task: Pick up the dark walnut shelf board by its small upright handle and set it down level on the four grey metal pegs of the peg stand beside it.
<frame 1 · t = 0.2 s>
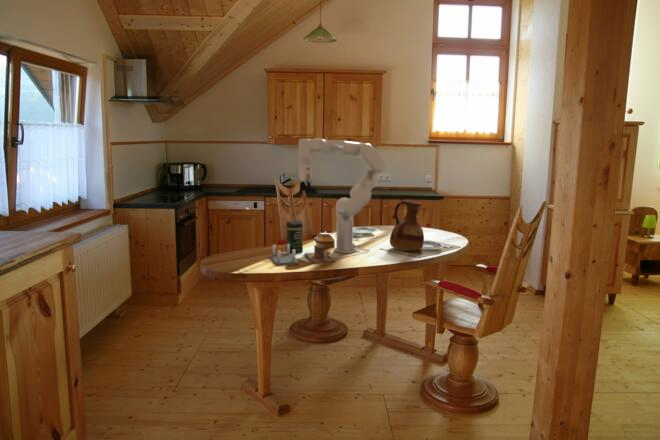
hand: (305, 191, 294), 36 cm above the table, tool pointing down, fingers open, 9 cm apart
ceramic pitcher: (406, 250, 312), on the table
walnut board: (319, 259, 290), on the table
peg stand: (283, 260, 284), on the table
coffee jar: (294, 252, 304), on the table
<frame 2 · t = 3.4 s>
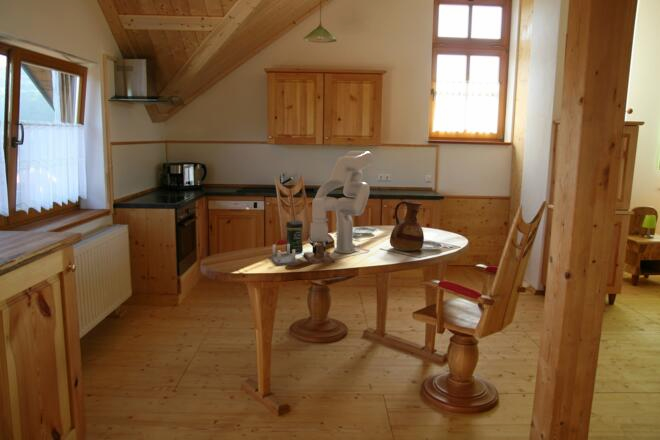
hand: (318, 253, 289), 3 cm above the table, tool pointing down, fingers closed on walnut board, 4 cm apart
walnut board: (318, 258, 289), on the table, touching gripper
everything else where it was.
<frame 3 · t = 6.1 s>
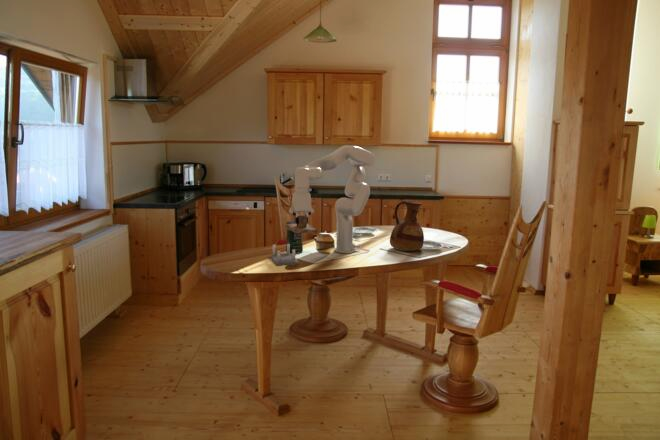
hand: (301, 223, 283), 20 cm above the table, tool pointing down, fingers closed on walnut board, 4 cm apart
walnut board: (301, 229, 283), point 17 cm above the table, touching gripper
everything else where it was.
when the fingers open (11 cm above the table, at t = 8.6 s): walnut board stays where it is, resting on peg stand.
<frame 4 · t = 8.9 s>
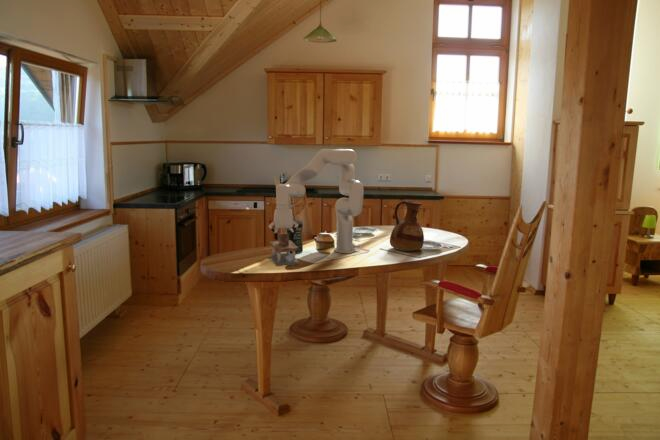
hand: (283, 239, 282), 12 cm above the table, tool pointing down, fingers open, 7 cm apart
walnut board: (283, 247, 283), point 7 cm above the table, touching peg stand
everything else where it was.
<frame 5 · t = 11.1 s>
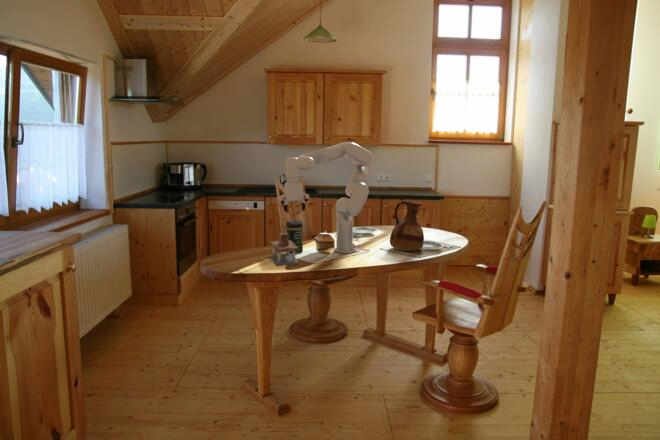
hand: (294, 211, 288), 26 cm above the table, tool pointing down, fingers open, 9 cm apart
nothing on the table moved.
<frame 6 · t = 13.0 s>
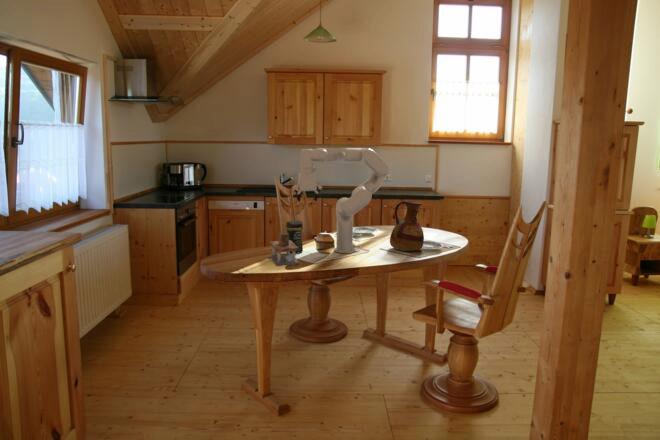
hand: (307, 200, 298), 30 cm above the table, tool pointing down, fingers open, 9 cm apart
nothing on the table moved.
at the end: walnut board 0.1 cm off-centre on the peg stand, point 7.5 cm above the peg stand's base; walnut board tilted 0°; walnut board touching peg stand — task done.
